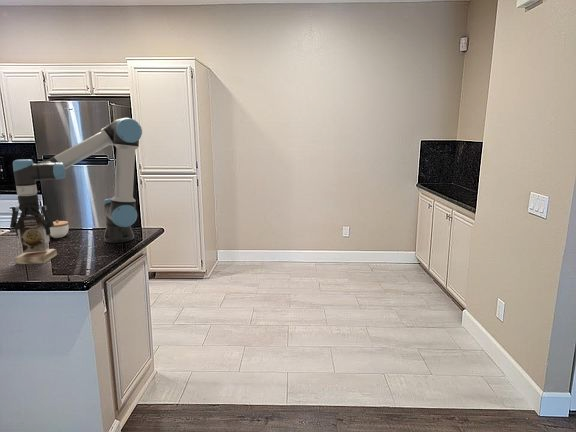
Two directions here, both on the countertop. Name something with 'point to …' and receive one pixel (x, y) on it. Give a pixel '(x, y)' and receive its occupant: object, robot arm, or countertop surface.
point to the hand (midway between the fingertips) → (34, 242)
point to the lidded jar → (59, 229)
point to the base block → (36, 257)
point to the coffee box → (32, 234)
